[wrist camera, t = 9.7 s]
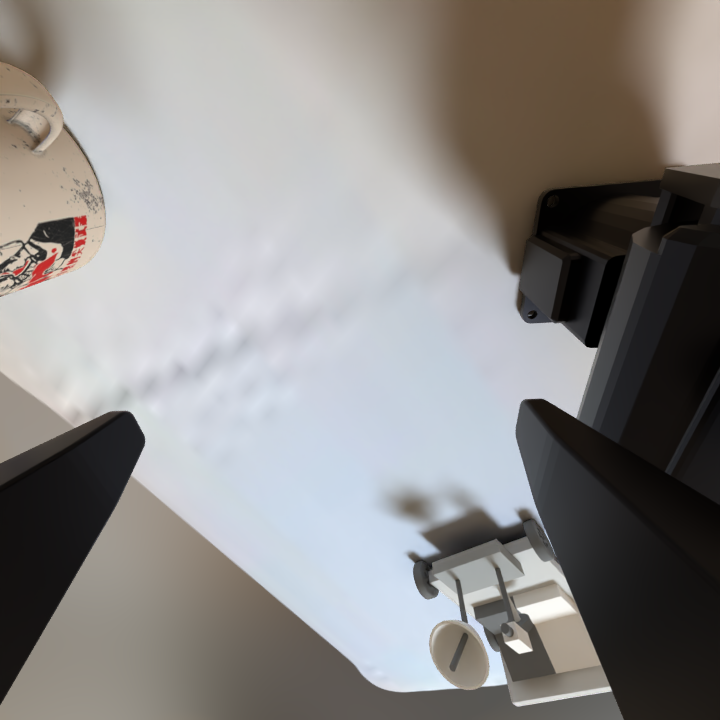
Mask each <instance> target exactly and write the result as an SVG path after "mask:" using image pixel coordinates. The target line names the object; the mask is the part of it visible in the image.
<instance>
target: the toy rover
mask: <svg viewBox="0 0 720 720" xmlns="http://www.w3.org/2000/svg"><path fill="white" fill-rule="evenodd" d="M523 526H524V530H525V533H526V535H527V536H526V537H524V538H521V539H518V540H515V541H512V542H510V543H507V544H504V545H502V544H501V543H500V542H499V541H498V540H497V539H495V540H492V541H490V542H487V543H484V544H481V545H479V546H476V547H473V548H470V549H468V550H465V551H462V552H460V553H457V554H454V555H451V556H449V557H446V558H443V559H440V560H438V561H435V562H432V567H430V566H428V565H427V564H426V563H425V562H424V561H422V560H421V561H419V562H416V563H415V564H414V568H413V575H414V580H415V584H416V586H417V589H418V590H419V592H420V594H421V595H422V596H423V597H424V598H425V599H432V598H435V597H436V596H437V595H438V593H439V591H440V592H441V593H443V594H444V595H445V596H447V597H448V598H449V599H450V600H452V601H453V602H454V603H455V604H457V605H458V606H459V607H460V611H461V617H462V621H459V620H448V621H443V622H441V623H439V624H437V625H436V626H435V627H434V628H433V630H432V632H431V635H430V641H429V646H430V653H431V656H432V659H433V662H434V663H435V665H436V667H437V669H438V670H439V672H440V673H441V674H442V675H443V677H444V678H445V679H447V680H448V681H449V682H450V683H451V684H453V685H455V686H457V687H458V688H462V689H465V690H474V689H477V688H479V687H481V686H482V685H483V684H484V683H485V682H486V679H487V677H488V675H489V660H488V655H487V653H486V650H485V647H484V644H483V642H482V640H481V638H480V637H479V635H478V633H477V632H476V631H475V629H474V628H473V627H472V626H470V625H469V624H468V621H467V616H466V612H467V613H468V614H469V615H471V616H472V617H473V618H475V619H476V620H477V621H478V622H479V623H480V624H482V625H483V627H484V632H485V635H486V637H487V640H488V642H489V644H490V646H491V647H492V649H493V650H494V651H496V652H499V651H500V653H501V658H502V662H503V666H504V670H505V675H506V679H507V683H508V688H509V691H510V696H511V700H512V703H513V704H514V705H516V706H523V705H529V704H536V703H542V702H548V701H553V700H560V699H566V698H572V697H578V696H585V695H591V694H597V693H603V692H609V691H612V690H611V687H610V685H609V683H608V680H607V678H606V675H605V673H604V670H603V668H602V666H601V663H600V661H599V658H598V656H597V654H596V651H595V649H594V646H593V644H592V641H591V639H590V637H589V634H588V632H587V629H586V627H585V624H584V622H583V620H582V617H581V615H580V612H579V610H578V608H577V605H576V603H575V600H574V598H573V595H572V593H571V591H570V588H569V586H568V583H567V581H566V579H565V576H564V574H563V571H562V569H561V566H560V565H559V564H558V563H557V562H556V561H555V560H554V558H555V556H554V552H553V549H552V547H551V544H550V542H549V540H548V538H547V536H546V535H545V533H544V531H543V530H542V529H541V528H540V527H539V526H538V525H537V523H536V522H535V521H534V520H533V519H531V520H528V521H525V522H524V523H523Z"/></svg>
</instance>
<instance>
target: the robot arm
mask: <svg viewBox="0 0 720 720" xmlns="http://www.w3.org/2000/svg"><path fill="white" fill-rule="evenodd" d="M553 195H554V196H555V202H554V204H553V205H552V206H549V207H548V205H547V201H548V199H549V198H550V197H551V196H553ZM519 289H520V290H521V291H522V292H523V298H522V304H521V310H520V316H521V317H522V319H523V320H524V321H525V322H527V323H547V322H553V323H562V324H563V325H564V326H565V327H566V328H567V329H568V330H569V331H570V332H571V333H572V334H574V335H575V336H576V337H577V338H578V339H579V340H580V341H581V342H582V343H583V344H584V345H585V346H586V347H589V348H598V349H597V352H596V355H595V359H594V362H593V365H592V369H591V372H590V375H589V379H588V382H587V385H586V388H585V392H584V395H583V398H582V402H581V405H580V408H579V412H578V415H577V418H574V417H573V416H571V415H569V414H568V413H566V412H564V411H563V410H561V409H559V408H558V407H556V406H555V405H553V404H551V403H550V402H548V401H546V400H544V399H525V400H523V401H522V402H521V404H520V409H519V414H518V419H517V425H516V439H517V443H518V446H519V450H520V453H521V457H522V460H523V464H524V467H525V471H526V474H527V478H528V481H529V485H530V488H531V492H532V495H533V499H534V502H535V505H536V508H537V510H538V513H539V516H540V518H541V520H542V523H543V525H544V528H545V530H546V533H547V535H548V537H549V540H550V542H551V545H552V547H553V549H554V552H555V554H556V557H557V559H558V562H559V564H560V566H561V569H562V571H563V574H564V576H565V579H566V581H567V583H568V586H569V588H570V591H571V593H572V595H573V598H574V600H575V603H576V605H577V608H578V610H579V612H580V615H581V617H582V620H583V622H584V624H585V627H586V629H587V632H588V634H589V637H590V639H591V641H592V644H593V646H594V649H595V651H596V654H597V656H598V658H599V661H600V663H601V666H602V668H603V670H604V673H605V675H606V678H607V680H608V683H609V685H610V687H611V690H612V692H613V695H614V697H615V699H616V702H617V704H618V707H619V709H620V711H621V714H622V716H623V719H624V720H720V163H713V164H702V165H691V166H680V167H669V168H665V171H664V174H663V177H662V179H654V180H643V181H631V182H620V183H609V184H597V185H586V186H574V187H563V188H552V189H548V190H546V191H545V192H543V193H542V194H541V196H540V197H539V200H538V204H537V211H536V217H535V223H534V229H533V235H532V236H530V238H529V239H528V240H527V241H526V247H525V253H524V260H523V266H522V273H521V279H520V286H519ZM532 310H535V312H534V314H533V315H532V316H527V315H528V313H529V312H530V311H532ZM144 446H145V436H144V434H143V432H142V430H141V428H140V427H139V425H138V423H137V421H136V419H135V417H134V416H133V414H132V413H130V412H128V411H112V412H108V413H106V414H104V415H102V416H100V417H97V418H95V419H93V420H91V421H89V422H87V423H85V424H83V425H81V426H78V427H76V428H74V429H72V430H70V431H68V432H66V433H64V434H62V435H59V436H57V437H56V438H53V439H51V440H49V441H47V442H45V443H43V444H40V445H38V446H36V447H34V448H32V449H30V450H28V451H26V452H24V453H21V454H20V455H17V456H15V457H13V458H11V459H9V460H7V461H5V462H3V463H0V705H1V703H2V701H3V700H4V698H5V696H6V695H7V693H8V691H9V689H10V688H11V686H12V684H13V682H14V681H15V679H16V677H17V676H18V674H19V672H20V670H21V669H22V667H23V665H24V664H25V662H26V660H27V658H28V657H29V655H30V653H31V651H32V650H33V648H34V646H35V645H36V643H37V641H38V640H39V638H40V636H41V634H42V632H43V631H44V629H45V628H46V626H47V624H48V622H49V621H50V619H51V617H52V616H53V614H54V612H55V610H56V609H57V607H58V605H59V603H60V602H61V600H62V598H63V597H64V595H65V593H66V591H67V590H68V588H69V586H70V585H71V583H72V581H73V579H74V578H75V576H76V574H77V573H78V571H79V569H80V567H81V566H82V564H83V562H84V561H85V559H86V557H87V555H88V554H89V552H90V550H91V549H92V547H93V545H94V543H95V542H96V540H97V538H98V537H99V535H100V533H101V531H102V530H103V528H104V526H105V525H106V523H107V521H108V519H109V518H110V516H111V514H112V512H113V511H114V509H115V507H116V505H117V503H118V501H119V499H120V497H121V495H122V493H123V491H124V488H125V486H126V484H127V482H128V480H129V478H130V476H131V474H132V472H133V469H134V467H135V465H136V463H137V461H138V459H139V457H140V454H141V452H142V450H143V448H144Z"/></svg>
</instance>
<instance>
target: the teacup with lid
mask: <svg viewBox="0 0 720 720" xmlns="http://www.w3.org/2000/svg"><path fill="white" fill-rule="evenodd" d="M63 122H64V121H63V115H62V112H61V110H60V108H59V106H58V104H57V103H56V101H55V100H54V99H53V97H52V96H51V95H50V93H49V92H48V91H47V90H46V88H45V87H44V86H43V85H42V84H41V83H40V82H39V81H38V80H37V79H35V78H34V77H33V76H31V75H30V74H28V73H26V72H25V71H23V70H21V69H19V68H17V67H14V66H12V65H9V64H6V63H3V62H0V297H1V296H4V295H7V294H10V293H13V292H15V291H18V290H21V289H24V288H27V287H29V286H32V285H35V284H38V283H41V282H43V281H46V280H49V279H52V278H55V277H57V276H60V275H63V274H66V273H69V272H72V271H74V270H77V269H79V268H81V267H82V266H84V265H86V264H87V263H88V262H89V261H90V260H91V259H92V258H93V257H94V256H95V255H96V253H97V252H98V250H99V248H100V246H101V244H102V241H103V238H104V233H105V225H106V218H105V207H104V202H103V198H102V194H101V190H100V187H99V185H98V182H97V179H96V177H95V175H94V173H93V170H92V169H91V167H90V165H89V163H88V161H87V159H86V158H85V156H84V154H83V153H82V151H81V150H80V148H79V147H78V146H77V144H76V143H75V141H74V140H73V139H72V138H71V136H70V135H69V134H68V133H67V131H66V130H65V129H64V128H63Z"/></svg>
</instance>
